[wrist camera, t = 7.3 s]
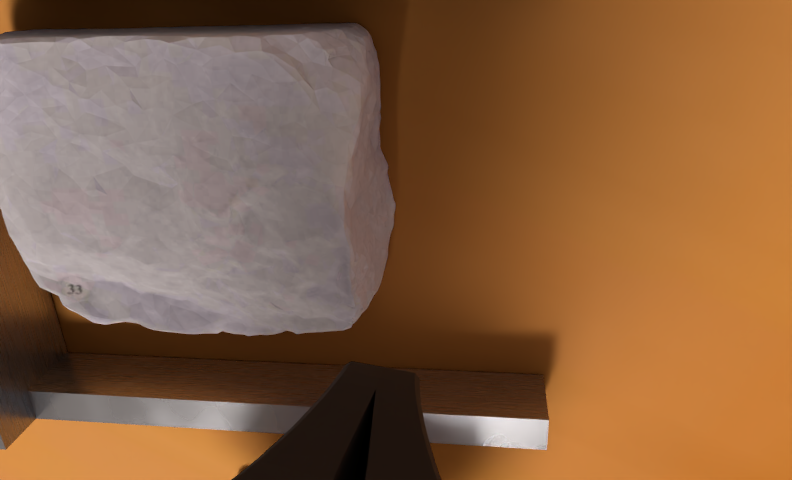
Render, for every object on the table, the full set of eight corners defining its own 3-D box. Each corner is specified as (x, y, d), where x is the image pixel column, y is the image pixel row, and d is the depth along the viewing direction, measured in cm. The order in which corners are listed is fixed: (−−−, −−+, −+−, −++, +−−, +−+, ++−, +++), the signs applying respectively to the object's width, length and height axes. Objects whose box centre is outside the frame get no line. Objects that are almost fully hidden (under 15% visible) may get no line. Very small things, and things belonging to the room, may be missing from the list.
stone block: (409, 269, 24) (384, -14, 18) (388, 365, 20) (347, 44, 14) (116, 260, 26) (10, 4, 20) (45, 346, 22) (-113, 58, 16)
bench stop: (541, 402, 23) (551, 487, 19) (6, 374, 26) (-74, 443, 22) (573, -80, 17) (597, -90, 13) (-139, -47, 19) (-283, -46, 16)
